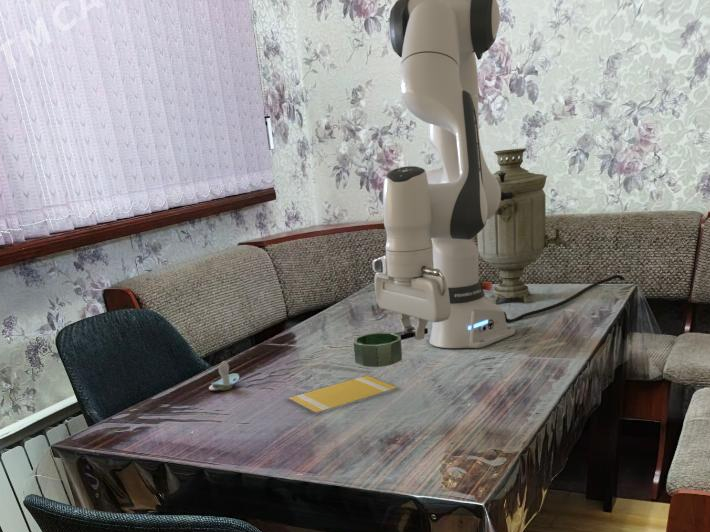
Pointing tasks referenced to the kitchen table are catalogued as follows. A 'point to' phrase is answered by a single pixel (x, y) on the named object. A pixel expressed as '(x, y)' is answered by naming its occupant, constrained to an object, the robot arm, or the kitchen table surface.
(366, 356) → the green saucepan
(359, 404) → the kitchen table surface
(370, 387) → the towel
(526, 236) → the samovar
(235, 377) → the pacifier
